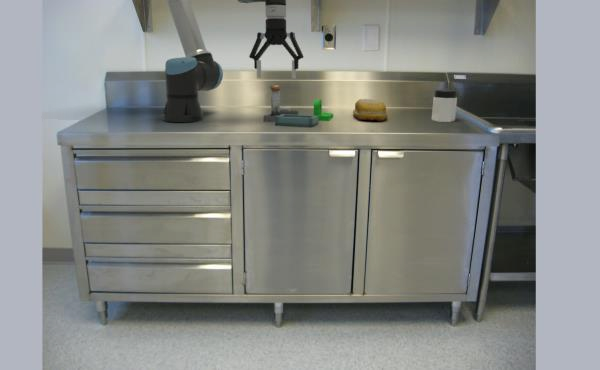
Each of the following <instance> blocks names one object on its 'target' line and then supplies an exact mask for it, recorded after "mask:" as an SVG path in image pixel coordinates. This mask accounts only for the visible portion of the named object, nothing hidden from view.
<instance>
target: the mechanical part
mask: <svg viewBox="0 0 600 370" xmlns="http://www.w3.org/2000/svg"><path fill="white" fill-rule="evenodd" d="M322 102H323V101H322V100H321V99H314V101H313V116H318V122H319V121H320V122H322V121H323V122H329V121H330V120H332V119H333V118H334V113H332V112H323V110H322V109H323V108H322V107H323V106H322V105H323V104H322Z"/></svg>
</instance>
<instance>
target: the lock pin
mask: <svg viewBox="0 0 600 370" xmlns="http://www.w3.org/2000/svg"><path fill="white" fill-rule="evenodd" d="M269 89H270V93H271V94H270V114H271V116H279V115H280V110H281V89H282V85H276V84H275V85H272V84H271V85H269Z"/></svg>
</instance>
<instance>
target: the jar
mask: <svg viewBox="0 0 600 370" xmlns="http://www.w3.org/2000/svg"><path fill="white" fill-rule="evenodd" d="M457 92H458V91H457V90H453V89H435V90H434V96H433V99H432V109H431V111H432V112H431V120H432V121H434V122H441V123H443V122H445V123H450V122H455V121H456V114H457V104H458V97H457V94H458V93H457Z"/></svg>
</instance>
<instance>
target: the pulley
mask: <svg viewBox="0 0 600 370" xmlns="http://www.w3.org/2000/svg"><path fill="white" fill-rule="evenodd" d="M291 108H292V107H291V106H289V105H288V106H287V105H286V106H283V108H282V109H280V114H291V115H299V111H298V110H296V109H295V110H293V109H291Z"/></svg>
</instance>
